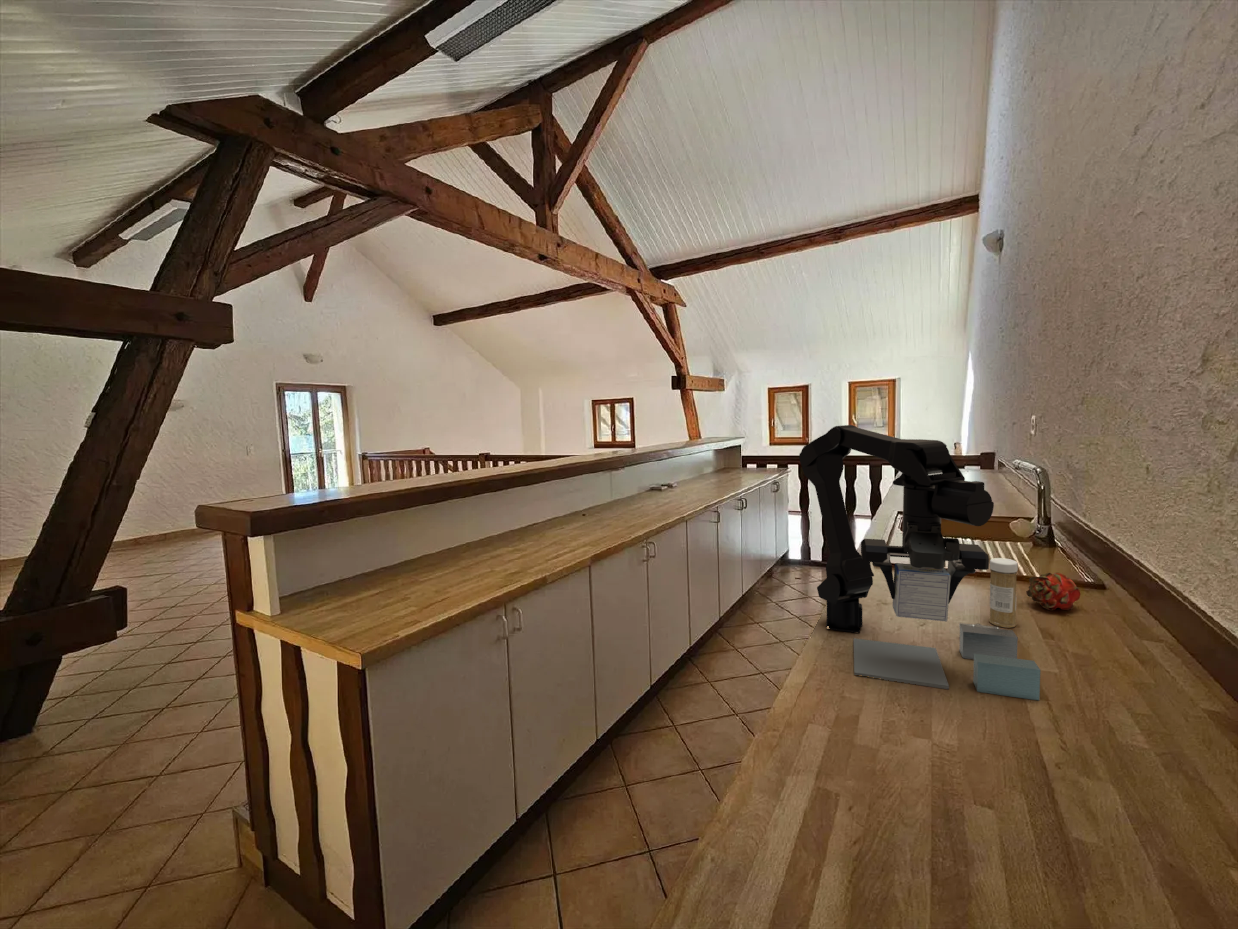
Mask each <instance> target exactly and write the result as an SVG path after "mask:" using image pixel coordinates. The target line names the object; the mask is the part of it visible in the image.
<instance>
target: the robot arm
mask: <svg viewBox="0 0 1238 929" xmlns="http://www.w3.org/2000/svg"><path fill="white" fill-rule="evenodd" d="M852 450H853V451H856V452H860V453H863V454H866V455H869V456H872V457H875V458H878V459H881V460H884V461H886V462H888V463H889V465H890V466H891V468H893V469H894V470H896V471H898V472H900V473H901V474H900V475H899V476H898V477H897V478H896V479H894V480H892V484H893V485H894V486H900V487H903V488H902V489H903V490H902V491H903V494H902V499H903V501H902V533H901V534H902V535H901V536H902V538H901V539H902V540H901V546H900V545H887V542H886V539H879V538H878V539H877V538H876V539H875V538H863V539H862V540H861V542H860V552H859V551H858V550H857V549H856V545H855V542H854V539H853V538H854V537H853V533H852V529H851V525H850V520H849V517H848V513H847V509H846V505H845V500H844V495H843V492H842V487H841V484H840V480H841V478H842V474H843V472H844V459H845V458H847V456H848V455H850V453H851V451H852ZM798 456H799V457H798V458H799V463H800V466H801V469H802V472H803V474H804V476H805V478H806V479H807V480H809V482H810V483H811V484H812V485H813V487H814V488H815V493H816V497H817V501H818V506H819V510H820V514H821V518H822V523H823V528H824V532H825V535H826V540H827V545H828V548H829V555H828V557H827V558H828V559H827V561H826V565H825V574H826V578H825V579H824V580H823V581H822V582H821V583H820V584H819V585H818V586H817V587H816V590H817V594H818V597H819V598H820V599H822V600H823V601H826V622H825V628H826V627H827V626H829V628H830V629H832V630H831V631H837V630H838V631H839V632H848V633H854V632H860V633H861V628H862V627H863V604H862V603H860V599H865V598H867V597H868V594H869V591H870V589H871V587H872V586H873V584H874V580H873V577H875V574H874V572H873V570H872V566H871V563H872V565H873V567H877V568H879V569H880V570H881V572H882V575H883V577H884V579H885V582H886V584H887V587H888V591H889V593H890V597H891V599H892V600H893V599H894V598H895V589H894V573H893V565H892V561H891V557H894V558H895V557H896V558H908V559H909V564H911V565H912V566H913V567H916V568H922V567H928V568H935V569H943V568H945V566H946V565H945V564H946V563H945V562H947V568H946V570H947V572H948V573H949V574H950V575H951V578H950V591H949V604H950V603H951V601H952V598H953V597H954V594H955V592H956V591H957V588H958V587H959V584H960V583H961V582H962V581H963V579H964V578H965V577H966V576H968V575H969V574H975V573H976V572H977V571H976V570H980V571H981V570H983V571H987V570H990V558H989V554H988V553H987V551H985V550H984V549H983V548H982V547H981V546H980V545H979V544H974V543H960V540H959V538H956V537H955V538H954V537H944V536H943V534H942V520H947V521H952V522H955V523H960V524H966V525H970V526H974V527H982V526H984V525H985V524H986V523H988V522H989V520H990V519H991V517H992V516H993V512H994V507H995V505H994V504H995V503H994V501H993V499H992V497H991V494H990V492H988V490H985V482H983V481H977V480H975V481H969V480H966V478H965V476H964V474H963V473H962V472H961V470H960V468H959V467H958V465H957V464H956V462H955V461H954V459H953V457H952V456H951V454H950V451H949V449H948V446H947V444H946V443H945V442H944V441H941V440H939V439H937V440H936V439H919V438H918V439H912V438H911V439H910V438H909V439H908V438H907V439H906V438H899V437H895V436H891V435H887V434H883V433H881V432H875V431H872V430H868V429H863V428H861V427H857V426H855V425H854V424H846V425H845V424H844V425H835V426H833V427H831V428H830V429H829V430H828V431H827V432H825V433H824V434H822V435H821V436H819V437H817V438H815V439H813V440H812V441H811V442H809V443H808V444H806V445H804V446H803V448H802V449H801V451H800V452H799V454H798Z"/></svg>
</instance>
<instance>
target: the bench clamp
mask: <svg viewBox="0 0 1238 929" xmlns="http://www.w3.org/2000/svg"><path fill="white" fill-rule="evenodd" d="M958 624H959V653H960V655H961V657H962V659H967V660H968V659H969V660H973V677H972V678H973V679H972V680H973V681H972V682H973V685H974V686H975V690H976V692H977V693H984V694H991V695H998V696H1005V697H1013V698H1017V699H1018V698H1019V699H1025V700H1033V701H1040V698H1041V697H1040V696H1041V695H1040V694H1041V693H1040V691H1041V668H1040V667H1039V666H1038V665H1037V663H1036V662H1035V660H1031V659H1024V658H1023V659H1022V658H1018V636H1017V635H1016V633H1015V631H1014V630H1013V629H1004V628H1003V629H1001V627H999V626H996V625H993V626H992V625H983V624H981V623H974V624H973V623H963V622H959V623H958Z"/></svg>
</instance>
